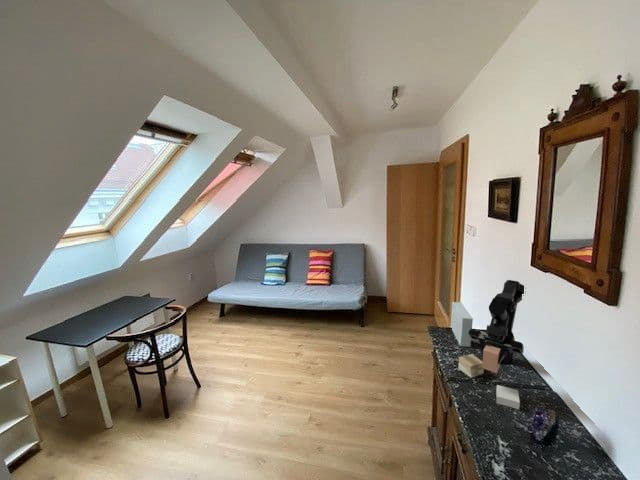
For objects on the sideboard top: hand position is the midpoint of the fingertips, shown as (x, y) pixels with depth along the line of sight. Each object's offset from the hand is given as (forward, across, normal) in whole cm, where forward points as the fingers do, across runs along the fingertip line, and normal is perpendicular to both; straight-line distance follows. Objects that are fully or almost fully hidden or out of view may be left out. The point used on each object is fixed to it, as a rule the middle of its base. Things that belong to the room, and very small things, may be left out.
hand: (490, 361), depth 111 cm
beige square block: (+2, -9, +14) cm, 17 cm away
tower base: (+4, -9, +16) cm, 19 cm away
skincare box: (-16, -22, +36) cm, 45 cm away
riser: (+10, +6, +9) cm, 15 cm away
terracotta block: (+2, 0, +4) cm, 4 cm away
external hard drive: (-18, -14, +39) cm, 46 cm away
